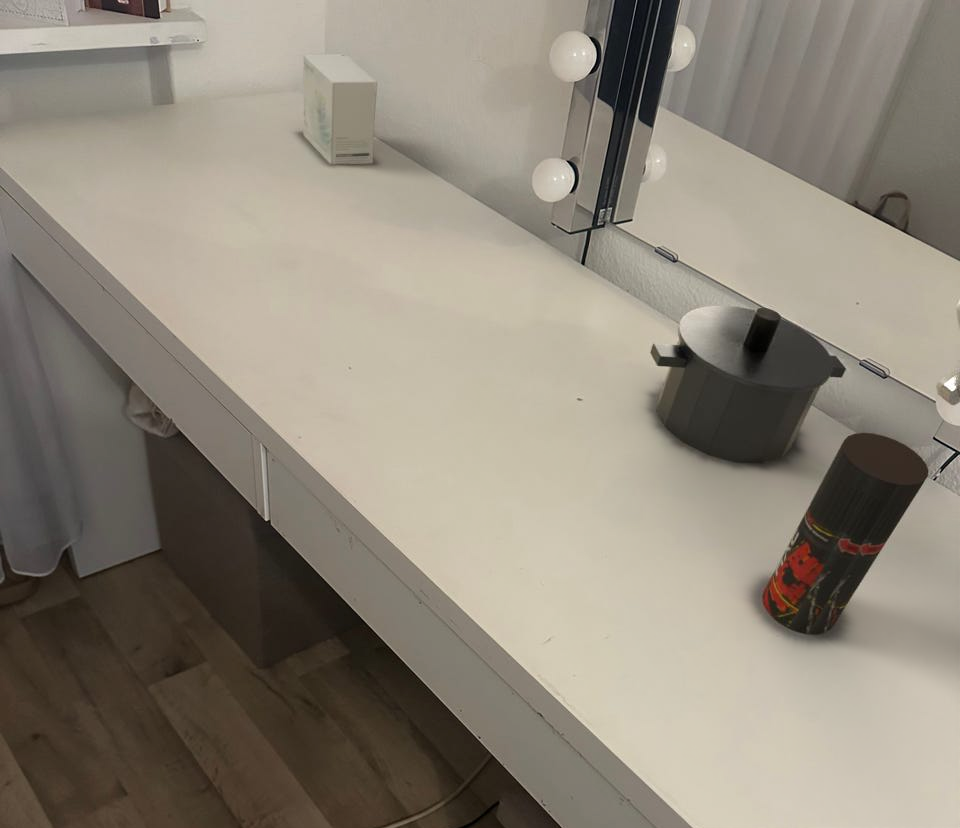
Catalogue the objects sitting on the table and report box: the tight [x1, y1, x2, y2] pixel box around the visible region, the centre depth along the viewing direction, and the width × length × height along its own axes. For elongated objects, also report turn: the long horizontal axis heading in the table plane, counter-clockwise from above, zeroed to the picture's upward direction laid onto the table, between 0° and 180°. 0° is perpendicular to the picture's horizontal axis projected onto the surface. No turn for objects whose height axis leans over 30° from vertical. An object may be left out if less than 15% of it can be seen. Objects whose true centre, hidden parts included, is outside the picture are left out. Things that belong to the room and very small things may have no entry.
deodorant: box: [762, 432, 929, 636], centre depth 67 cm, size 6×6×15 cm
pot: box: [649, 339, 847, 465], centre depth 87 cm, size 14×19×8 cm
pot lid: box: [677, 305, 833, 392], centre depth 83 cm, size 15×15×4 cm
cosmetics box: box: [302, 53, 378, 165], centre depth 120 cm, size 10×6×10 cm, turn 28°
